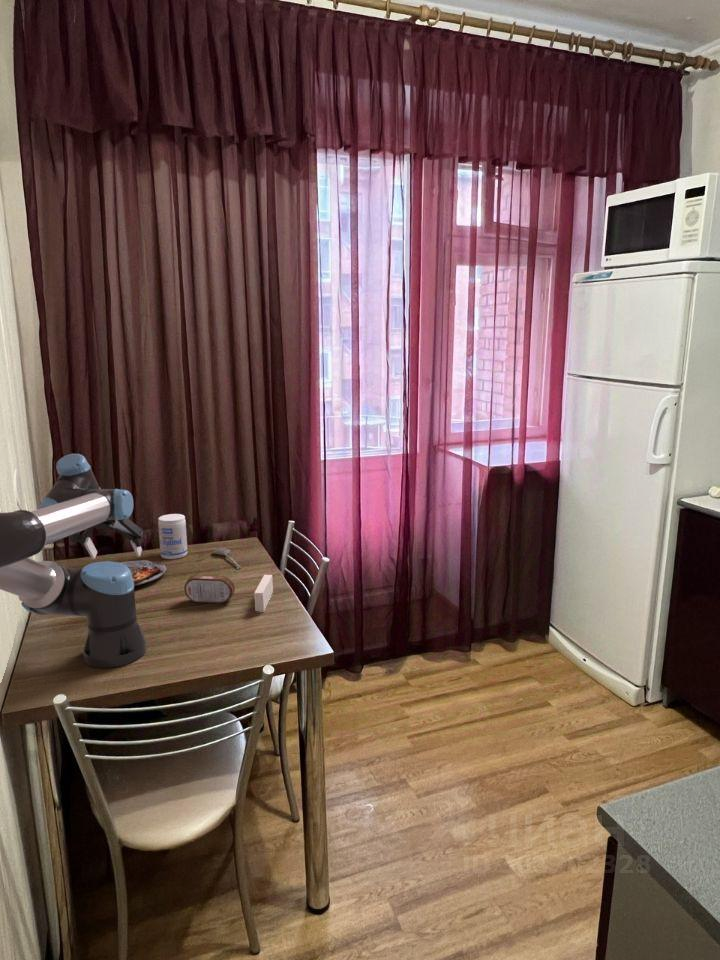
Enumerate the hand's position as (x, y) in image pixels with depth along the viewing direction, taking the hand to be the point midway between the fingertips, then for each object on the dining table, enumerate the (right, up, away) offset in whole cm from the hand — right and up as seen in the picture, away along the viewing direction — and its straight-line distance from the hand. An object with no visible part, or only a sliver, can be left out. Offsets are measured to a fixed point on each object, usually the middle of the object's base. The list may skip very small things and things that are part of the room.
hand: (117, 554), depth 188 cm
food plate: (-5, -11, +24) cm, 27 cm away
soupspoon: (+25, -7, +40) cm, 47 cm away
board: (+43, -15, +4) cm, 46 cm away
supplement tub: (+4, -6, +45) cm, 46 cm away
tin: (+26, -15, +5) cm, 31 cm away
